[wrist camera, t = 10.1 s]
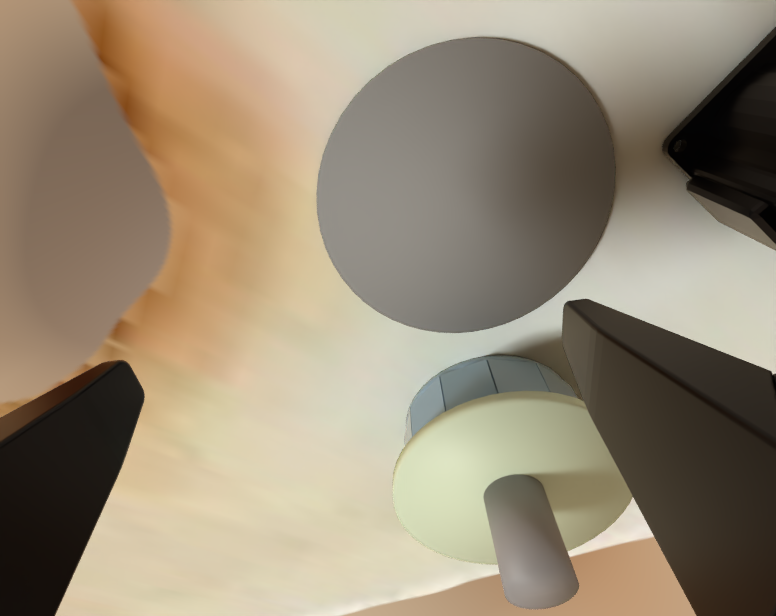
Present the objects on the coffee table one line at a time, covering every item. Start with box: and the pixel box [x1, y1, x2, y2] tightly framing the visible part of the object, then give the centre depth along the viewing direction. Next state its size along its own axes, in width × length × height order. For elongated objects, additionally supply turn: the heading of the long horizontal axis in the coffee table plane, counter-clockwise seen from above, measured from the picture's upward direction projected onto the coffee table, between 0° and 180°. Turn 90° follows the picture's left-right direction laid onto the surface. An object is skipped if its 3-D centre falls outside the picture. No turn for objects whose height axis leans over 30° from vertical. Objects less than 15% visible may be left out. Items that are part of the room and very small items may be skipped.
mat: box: [317, 38, 615, 333], centre depth 20 cm, size 13×13×1 cm
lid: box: [393, 391, 633, 609], centre depth 20 cm, size 12×12×5 cm
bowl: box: [404, 355, 577, 446], centre depth 25 cm, size 10×10×4 cm
